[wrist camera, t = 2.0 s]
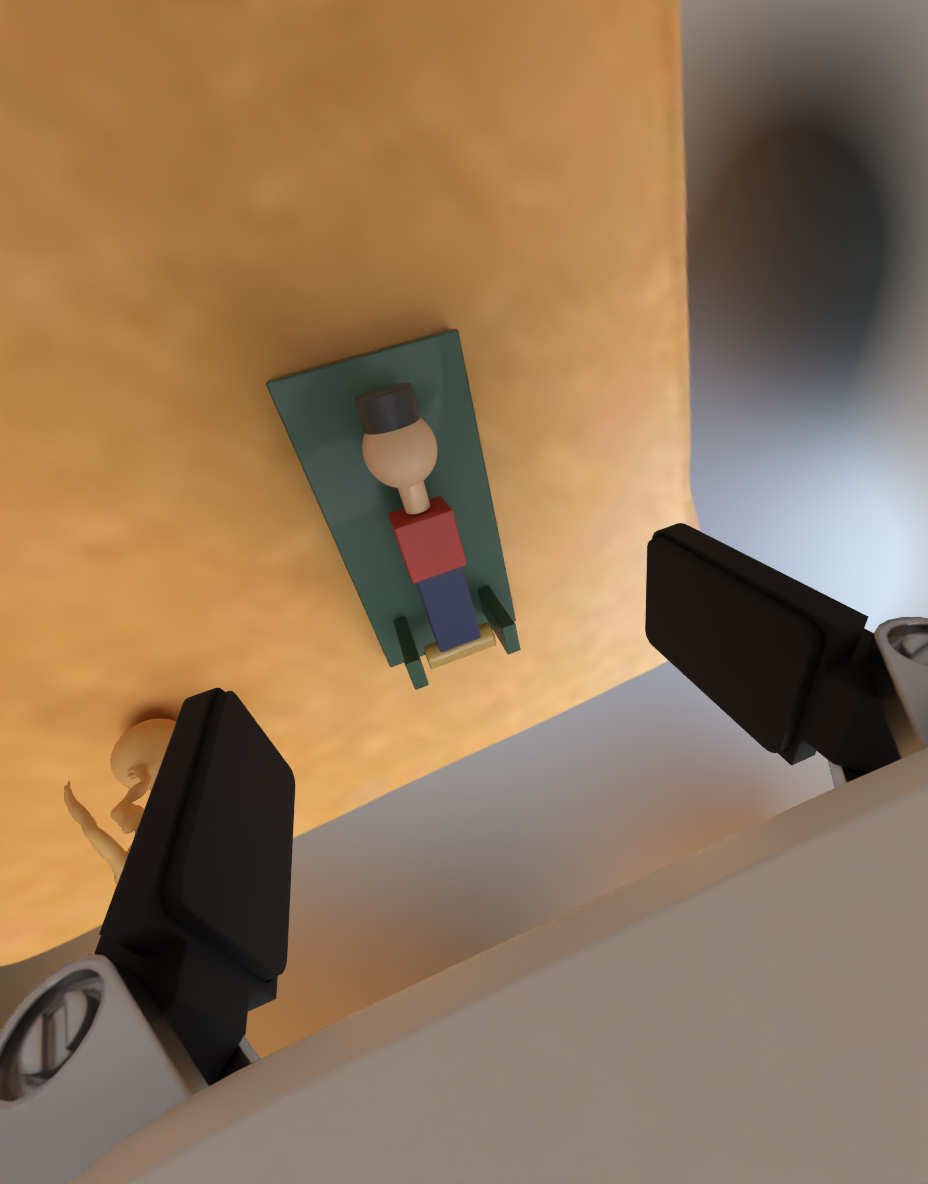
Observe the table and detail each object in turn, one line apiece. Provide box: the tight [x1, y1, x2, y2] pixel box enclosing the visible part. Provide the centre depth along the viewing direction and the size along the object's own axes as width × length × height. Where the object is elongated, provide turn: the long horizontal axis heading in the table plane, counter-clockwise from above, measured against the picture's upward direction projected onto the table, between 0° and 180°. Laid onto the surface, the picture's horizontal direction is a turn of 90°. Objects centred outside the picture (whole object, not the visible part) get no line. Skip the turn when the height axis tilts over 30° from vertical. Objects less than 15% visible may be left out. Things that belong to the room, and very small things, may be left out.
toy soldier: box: [354, 383, 496, 669], centre depth 21 cm, size 14×4×3 cm, turn 13°
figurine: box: [64, 718, 176, 885], centre depth 22 cm, size 8×6×12 cm
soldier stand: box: [266, 329, 520, 690], centre depth 23 cm, size 18×9×6 cm, turn 13°
